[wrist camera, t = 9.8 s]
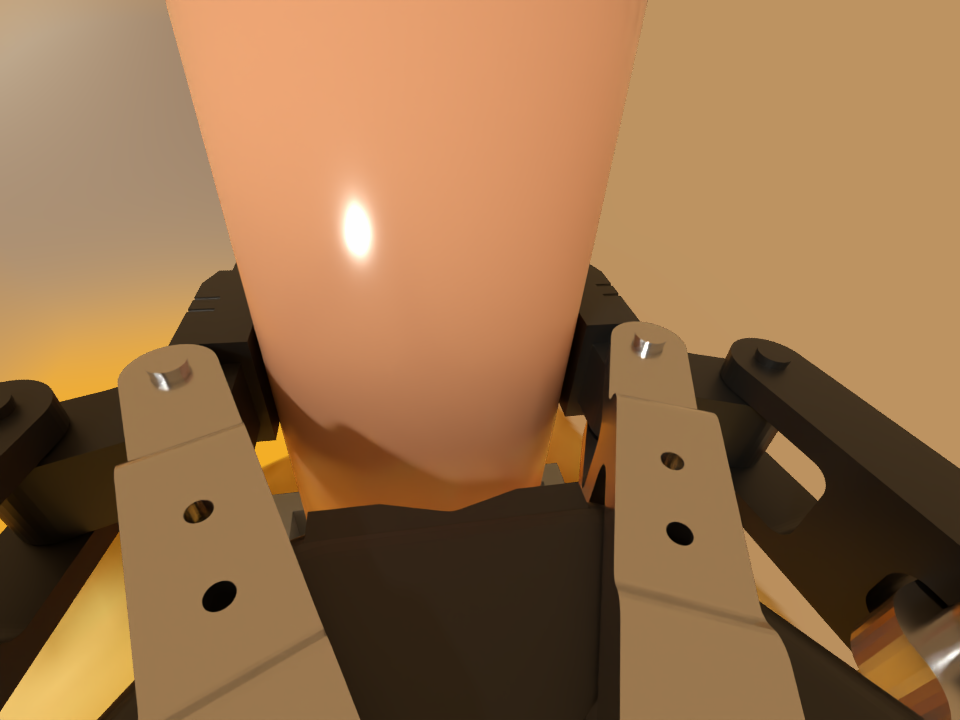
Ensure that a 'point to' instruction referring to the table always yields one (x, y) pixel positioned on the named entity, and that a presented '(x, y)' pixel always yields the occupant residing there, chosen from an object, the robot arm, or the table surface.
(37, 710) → the table surface
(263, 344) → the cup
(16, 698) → the table surface
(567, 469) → the table surface
